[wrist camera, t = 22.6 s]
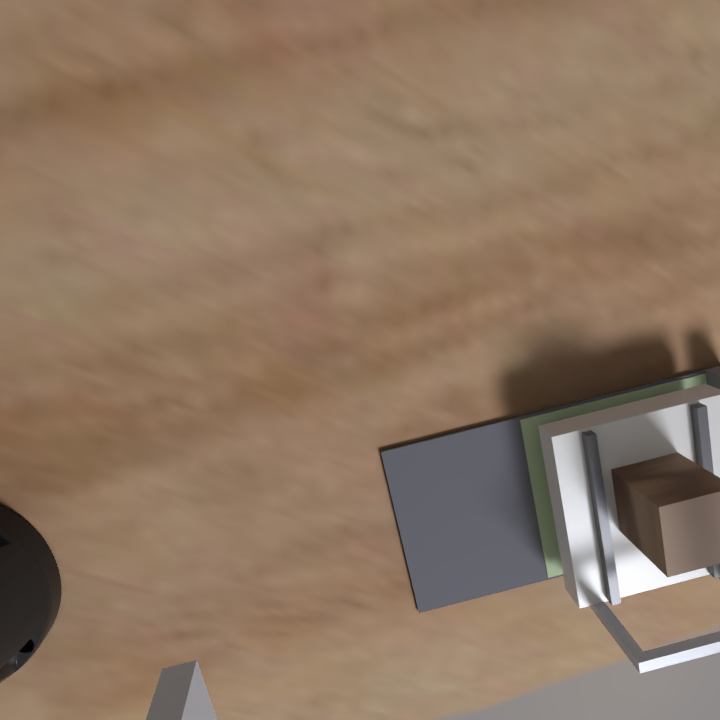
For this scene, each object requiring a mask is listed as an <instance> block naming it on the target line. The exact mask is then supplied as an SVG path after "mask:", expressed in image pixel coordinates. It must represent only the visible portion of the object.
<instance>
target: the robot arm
mask: <svg viewBox="0 0 720 720" xmlns="http://www.w3.org/2000/svg"><path fill="white" fill-rule="evenodd" d="M60 601H61V580H60V574H59V570H58V567H57V564H56V561H55V559H54V556H53V554H52V552H51V551H50V549H49V547H48V546H47V544H46V542H45V541H44V540H43V538H42V537H41V536H40V535H39V534H38V532H37V531H36V530H35V529H34V528H33V527H32V526H31V525H30V524H28V523H27V522H26V521H25V520H24V519H22V518H21V517H20V516H18V515H17V514H15V513H14V512H12V511H10V510H8V509H7V508H5V507H3V506H1V505H0V683H1V682H2V681H4V680H5V679H6V678H8V677H9V676H10V675H12V674H13V673H15V672H16V671H17V670H18V669H20V668H21V667H22V666H23V665H24V664H25V663H26V662H27V661H28V660H29V659H30V658H31V657H32V655H33V654H34V653H35V652H36V650H37V649H38V648H39V646H40V645H41V643H42V641H43V640H44V638H45V637H46V635H47V634H48V632H49V631H50V629H51V627H52V625H53V623H54V621H55V619H56V616H57V614H58V610H59V606H60ZM146 720H217V718H216V715H215V712H214V709H213V706H212V703H211V700H210V697H209V694H208V692H207V689H206V686H205V683H204V680H203V677H202V674H201V671H200V668H199V665H198V662H197V660H195V661H191V662H187V663H184V664H180V665H176V666H172V667H168V668H164V669H162V672H161V675H160V678H159V681H158V684H157V688H156V691H155V694H154V697H153V700H152V703H151V706H150V709H149V712H148V715H147V718H146Z"/></svg>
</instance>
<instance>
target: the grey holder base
mask: <svg viewBox="0 0 720 720" xmlns="http://www.w3.org/2000/svg"><path fill="white" fill-rule="evenodd" d="M702 384H707V385H710V386H712V387H715V388H718V389H720V366H717V367H713V368H709V369H705V370H701V371H697V372H693V373H689V374H685V375H681V376H677V377H673V378H669V379H665V380H661V381H657V382H653V383H649V384H645V385H641V386H637V387H633V388H629V389H625V390H621V391H617V392H613V393H609V394H605V395H601V396H597V397H593V398H589V399H585V400H581V401H578V402H574V403H570V404H566V405H562V406H558V407H554V408H550V409H546V410H542V411H538V412H534V413H530V414H526V415H522V416H518V417H514V418H510V419H506V420H502V421H498V422H494V423H490V424H486V425H482V426H478V427H474V428H470V429H466V430H462V431H458V432H454V433H450V434H446V435H442V436H438V437H434V438H430V439H426V440H422V441H418V442H414V443H410V444H406V445H402V446H398V447H394V448H390V449H386V450H382V451H381V455H382V460H383V464H384V468H385V472H386V477H387V481H388V485H389V489H390V493H391V498H392V502H393V506H394V510H395V514H396V519H397V523H398V527H399V531H400V535H401V540H402V544H403V548H404V552H405V557H406V561H407V565H408V569H409V573H410V578H411V582H412V586H413V590H414V594H415V599H416V603H417V607H418V611H419V613H421V612H425V611H429V610H433V609H436V608H440V607H444V606H448V605H452V604H456V603H459V602H463V601H467V600H471V599H475V598H479V597H482V596H486V595H490V594H494V593H498V592H502V591H505V590H509V589H513V588H517V587H521V586H525V585H528V584H532V583H536V582H540V581H544V580H548V579H551V578H555V577H559V576H563V569H562V563H561V557H560V551H559V545H558V540H557V534H556V528H555V522H554V516H553V510H552V504H551V499H550V493H549V487H548V481H547V475H546V469H545V463H544V458H543V452H542V446H541V440H540V434H539V428H538V426H540V425H544V424H547V423H551V422H555V421H559V420H563V419H567V418H571V417H575V416H579V415H583V414H587V413H591V412H595V411H599V410H603V409H607V408H611V407H615V406H619V405H623V404H627V403H631V402H635V401H639V400H643V399H647V398H651V397H655V396H659V395H663V394H667V393H671V392H675V391H679V390H683V389H687V388H691V387H695V386H699V385H702Z"/></svg>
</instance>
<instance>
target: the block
mask: <svg viewBox="0 0 720 720" xmlns="http://www.w3.org/2000/svg"><path fill="white" fill-rule="evenodd" d="M611 474H612V481H613V488H614V494H615V501H616V508H617V515H618V522H619V529H620V532H621V533H622V534H623V535H624V536H625V537H626V538H627V539H628V540H629V541H630V542H631V543H633V544H634V545H635V546H636V547H637V548H638V549H639V550H640V551H641V552H642V553H643V554H644V555H645V556H646V557H647V558H648V559H649V560H650V561H651V562H652V563H653V564H654V565H655V566H656V567H657V568H658V569H659V570H660V571H661V572H662V573H664V574H665V575H666V576H667V577H671V576H675V575H679V574H683V573H686V572H690V571H694V570H698V569H702V568H705V567H709V566H713V565H717V564H720V478H719V477H718V476H716V475H714V474H713V473H711V472H709V471H708V470H706V469H704V468H703V467H701V466H699V465H698V464H696V463H694V462H693V461H691V460H690V459H688V458H686V457H685V456H683V455H681V454H680V453H678V452H677V453H673V454H669V455H665V456H661V457H657V458H653V459H650V460H646V461H642V462H638V463H634V464H630V465H626V466H622V467H618V468H614V469H611Z"/></svg>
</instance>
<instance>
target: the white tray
mask: <svg viewBox="0 0 720 720" xmlns="http://www.w3.org/2000/svg"><path fill="white" fill-rule="evenodd" d="M538 428H539V434H540V440H541V446H542V452H543V458H544V463H545V469H546V475H547V481H548V487H549V493H550V499H551V504H552V510H553V516H554V522H555V528H556V534H557V540H558V545H559V551H560V557H561V563H562V569H563V575H564V581H565V586H566V590H567V591H568V593H569V594H570V595H571V597H572V598H573V600H574V601H575V602H576V604H577V605H578V606H579V608H583V607H587V606H590V607H591V609H592V610H593V611H594V613H595V614H596V615H597V617H598V618H599V619H600V621H601V622H602V623H603V625H604V626H605V627H606V629H607V630H608V631H609V633H610V634H611V635H612V637H613V638H614V639H615V641H616V642H617V643H618V645H619V646H620V647H621V649H622V650H623V651H624V653H625V654H626V655H627V657H628V658H629V659H630V661H631V662H632V663H633V665H634V666H635V667H636V669H637V670H638V671H639V673H643V672H647V671H651V670H654V669H658V668H662V667H666V666H669V665H673V664H676V663H680V662H684V661H688V660H692V659H695V658H699V657H703V656H707V655H711V654H714V653H718V652H720V631H719V632H715V633H712V634H708V635H704V636H700V637H697V638H693V639H689V640H685V641H682V642H678V643H674V644H670V645H667V646H663V647H659V648H655V649H652V650H648V651H644V652H643V650H642V649H641V648H640V647H639V645H638V644H637V643H636V642H635V640H634V639H633V638H632V637H631V635H630V634H629V633H628V631H627V630H626V629H625V628H624V626H623V625H622V624H621V623H620V621H619V620H618V619H617V618H616V616H615V615H614V614H613V613H612V611H611V610H610V609H609V608H608V606H607V605H606V604H605V603H604V602H606V601H609V602H610V603H611V605H616V604H619V603H621V597H625V596H629V595H633V594H636V593H640V592H644V591H648V590H652V589H655V588H659V587H663V586H667V585H671V584H675V583H678V582H682V581H686V580H690V579H694V578H697V577H701V576H705V575H709V574H711V575H712V576H713V577H714V578H719V579H720V564H717V565H713V566H709V567H705V568H702V569H698V570H694V571H690V572H686V573H683V574H679V575H675V576H671V577H667V576H666V575H665V574H664V573H662V572H661V571H660V570H659V569H658V568H657V567H656V566H655V565H654V564H653V563H652V562H651V561H650V560H649V559H648V558H647V557H646V556H645V555H644V554H643V553H642V552H641V551H640V550H639V549H638V548H637V547H636V546H635V545H634V544H633V543H631V542H630V541H629V540H628V539H627V538H626V537H625V536H624V535H623V534H622V533H621V532H620V529H619V522H618V515H617V508H616V501H615V494H614V488H613V481H612V474H611V469H614V468H618V467H622V466H626V465H630V464H634V463H638V462H642V461H646V460H650V459H653V458H657V457H661V456H665V455H669V454H673V453H677V452H678V453H680V454H681V455H683V456H685V457H686V458H688V459H690V460H691V461H693V462H694V463H696V464H698V465H699V466H701V467H703V468H704V469H706V470H708V471H709V472H711V473H713V474H714V475H716V476H718V477H719V478H720V389H718V388H715V387H712V386H710V385H707V384H702V385H699V386H695V387H691V388H687V389H683V390H679V391H675V392H671V393H667V394H663V395H659V396H655V397H651V398H647V399H643V400H639V401H635V402H631V403H627V404H623V405H619V406H615V407H611V408H607V409H603V410H599V411H595V412H591V413H587V414H583V415H579V416H575V417H571V418H567V419H563V420H559V421H555V422H551V423H547V424H544V425H540V426H538Z"/></svg>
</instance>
